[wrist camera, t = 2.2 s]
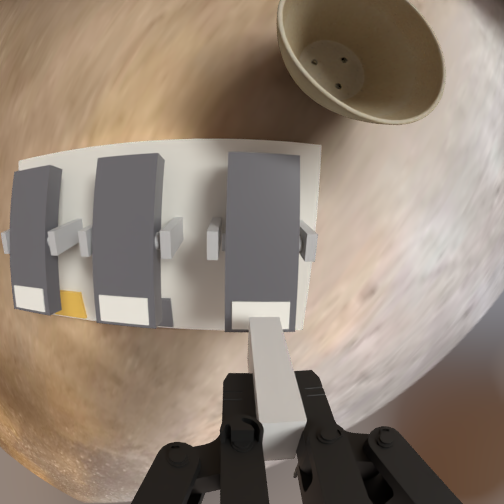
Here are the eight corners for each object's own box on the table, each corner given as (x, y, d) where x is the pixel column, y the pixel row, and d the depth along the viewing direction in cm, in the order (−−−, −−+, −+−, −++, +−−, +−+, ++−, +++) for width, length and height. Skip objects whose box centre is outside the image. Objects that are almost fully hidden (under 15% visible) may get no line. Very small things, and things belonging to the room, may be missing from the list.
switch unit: (25, 160, 16) (-11, 164, 12) (317, 145, 18) (342, 141, 13) (46, 307, 21) (20, 333, 16) (300, 323, 22) (313, 359, 18)
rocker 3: (225, 159, 16) (224, 151, 14) (297, 162, 16) (303, 155, 15) (222, 323, 17) (221, 332, 15) (292, 323, 17) (298, 332, 15)
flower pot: (303, 155, 18) (340, 152, 11) (239, 38, 15) (241, -15, 8) (408, 113, 17) (468, 103, 10) (351, 9, 14) (390, -32, 7)
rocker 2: (105, 164, 16) (94, 157, 14) (167, 159, 16) (161, 152, 14) (104, 315, 16) (93, 322, 14) (165, 320, 16) (158, 329, 15)
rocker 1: (25, 175, 15) (12, 172, 13) (64, 169, 15) (51, 164, 14) (25, 303, 16) (12, 308, 14) (63, 310, 16) (51, 316, 14)
